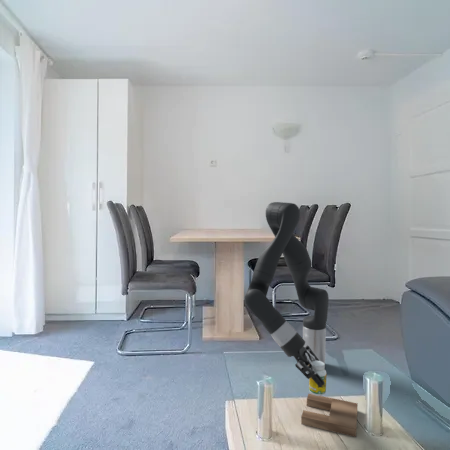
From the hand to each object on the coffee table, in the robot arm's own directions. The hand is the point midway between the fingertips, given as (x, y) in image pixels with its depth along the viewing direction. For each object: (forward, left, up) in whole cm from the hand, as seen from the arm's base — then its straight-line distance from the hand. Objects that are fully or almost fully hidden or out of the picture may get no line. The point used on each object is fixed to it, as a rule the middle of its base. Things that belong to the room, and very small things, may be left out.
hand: (323, 380), depth 114 cm
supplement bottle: (0, -2, -4) cm, 5 cm away
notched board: (0, +2, -12) cm, 12 cm away
